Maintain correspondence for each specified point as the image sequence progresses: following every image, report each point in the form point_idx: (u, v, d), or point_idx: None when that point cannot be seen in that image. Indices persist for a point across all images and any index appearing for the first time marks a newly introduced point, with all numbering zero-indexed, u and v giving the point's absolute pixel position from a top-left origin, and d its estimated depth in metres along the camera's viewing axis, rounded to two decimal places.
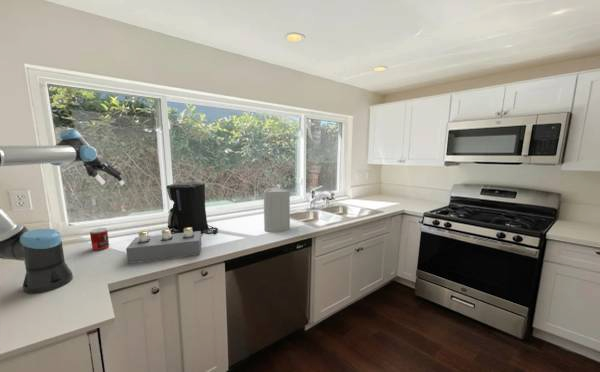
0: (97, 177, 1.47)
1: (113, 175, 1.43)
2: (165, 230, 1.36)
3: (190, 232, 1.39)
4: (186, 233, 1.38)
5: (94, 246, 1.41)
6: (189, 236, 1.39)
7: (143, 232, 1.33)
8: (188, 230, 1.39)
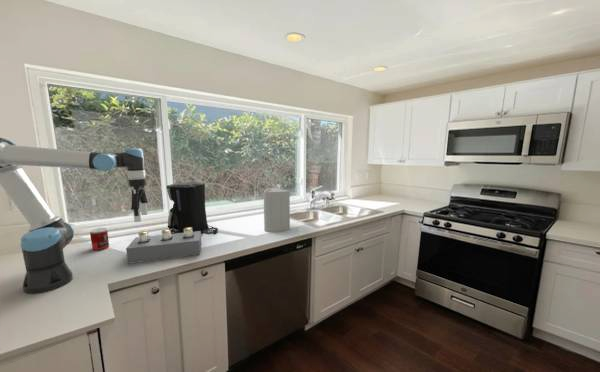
0: (142, 205, 1.37)
1: None
2: (165, 230, 1.36)
3: (190, 232, 1.39)
4: (186, 233, 1.38)
5: (94, 246, 1.41)
6: (189, 236, 1.39)
7: (143, 232, 1.33)
8: (188, 230, 1.39)
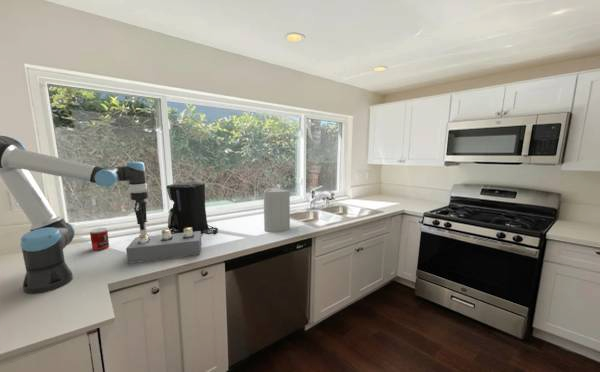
0: None
1: None
2: (165, 230, 1.36)
3: (190, 232, 1.39)
4: (186, 233, 1.38)
5: (94, 246, 1.41)
6: (189, 236, 1.39)
7: (143, 235, 1.33)
8: (188, 230, 1.39)
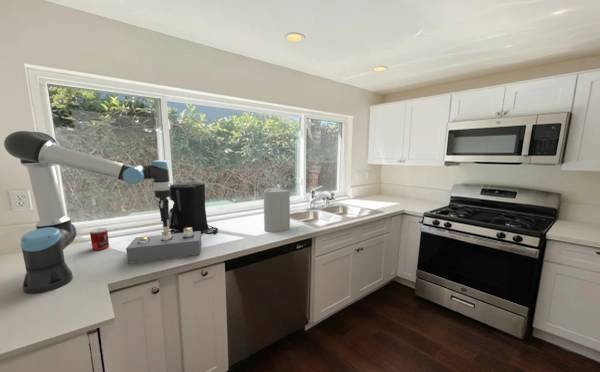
0: None
1: None
2: (165, 232, 1.37)
3: (190, 232, 1.39)
4: (186, 233, 1.38)
5: (94, 246, 1.41)
6: (189, 236, 1.39)
7: (144, 238, 1.34)
8: (188, 230, 1.39)
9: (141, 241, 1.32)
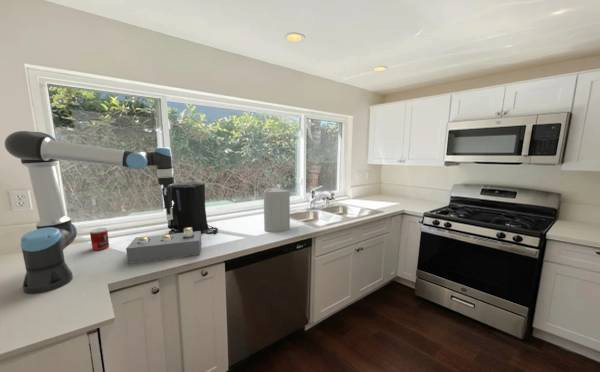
0: None
1: (165, 205, 1.33)
2: (165, 235, 1.37)
3: (190, 232, 1.39)
4: (186, 233, 1.38)
5: (94, 246, 1.41)
6: (189, 236, 1.39)
7: (144, 238, 1.34)
8: (188, 230, 1.39)
9: (141, 241, 1.32)
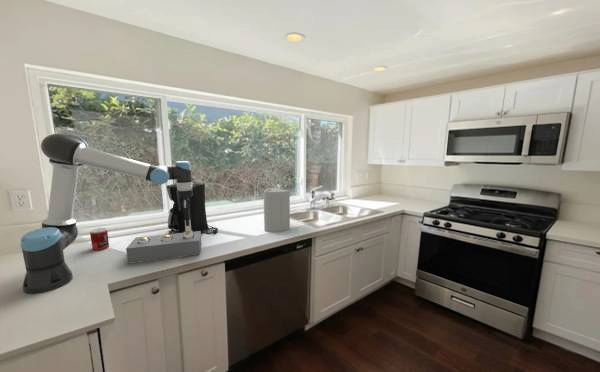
0: None
1: None
2: (165, 235, 1.37)
3: (190, 235, 1.40)
4: (186, 236, 1.39)
5: (94, 246, 1.41)
6: None
7: (144, 238, 1.34)
8: (188, 233, 1.39)
9: (141, 241, 1.32)
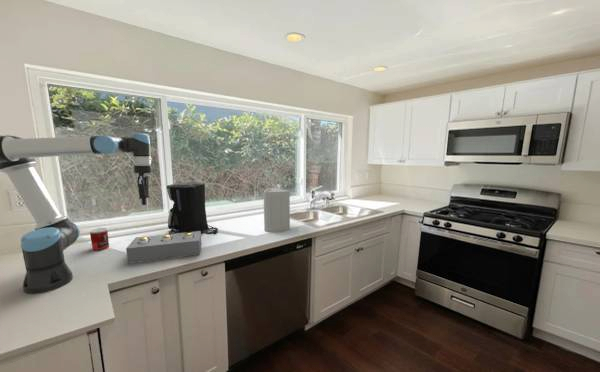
0: None
1: None
2: (165, 235, 1.37)
3: (190, 237, 1.40)
4: None
5: (94, 246, 1.41)
6: None
7: (144, 238, 1.34)
8: (188, 235, 1.39)
9: (141, 241, 1.32)
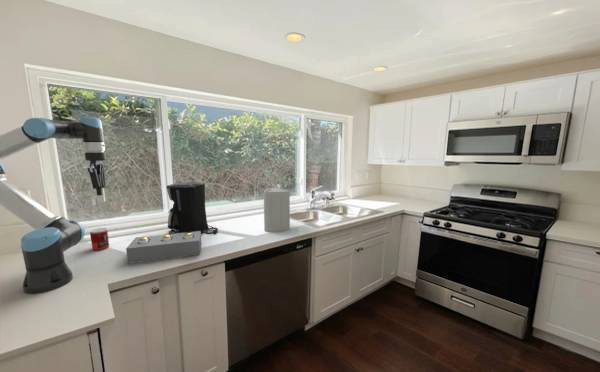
0: None
1: None
2: (165, 235, 1.37)
3: (190, 237, 1.40)
4: None
5: (94, 246, 1.41)
6: None
7: (144, 238, 1.34)
8: (188, 235, 1.39)
9: (141, 241, 1.32)
